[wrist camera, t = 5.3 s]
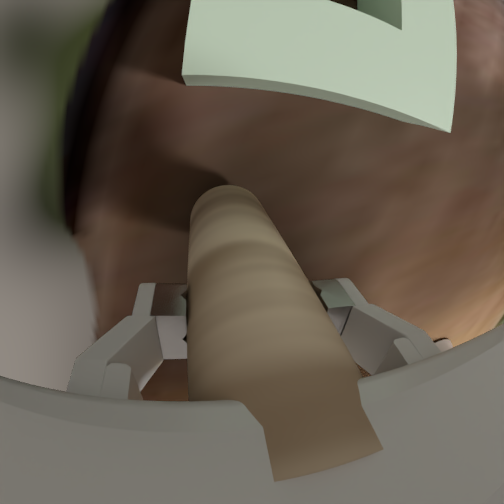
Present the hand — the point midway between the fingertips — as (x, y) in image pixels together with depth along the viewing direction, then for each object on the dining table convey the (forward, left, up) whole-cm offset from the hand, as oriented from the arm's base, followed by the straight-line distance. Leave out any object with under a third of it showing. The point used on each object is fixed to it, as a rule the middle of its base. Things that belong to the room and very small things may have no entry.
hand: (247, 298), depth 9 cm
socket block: (+14, -5, -8) cm, 17 cm away
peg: (0, 0, -7) cm, 7 cm away
